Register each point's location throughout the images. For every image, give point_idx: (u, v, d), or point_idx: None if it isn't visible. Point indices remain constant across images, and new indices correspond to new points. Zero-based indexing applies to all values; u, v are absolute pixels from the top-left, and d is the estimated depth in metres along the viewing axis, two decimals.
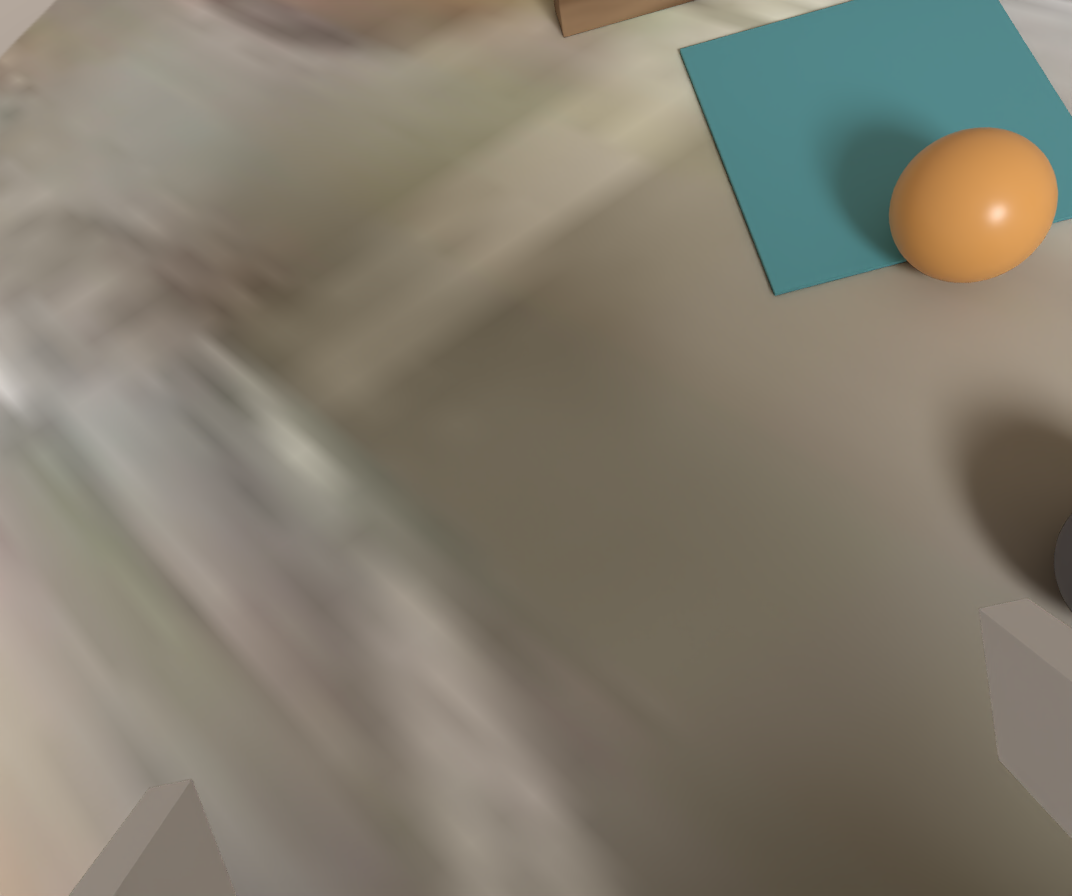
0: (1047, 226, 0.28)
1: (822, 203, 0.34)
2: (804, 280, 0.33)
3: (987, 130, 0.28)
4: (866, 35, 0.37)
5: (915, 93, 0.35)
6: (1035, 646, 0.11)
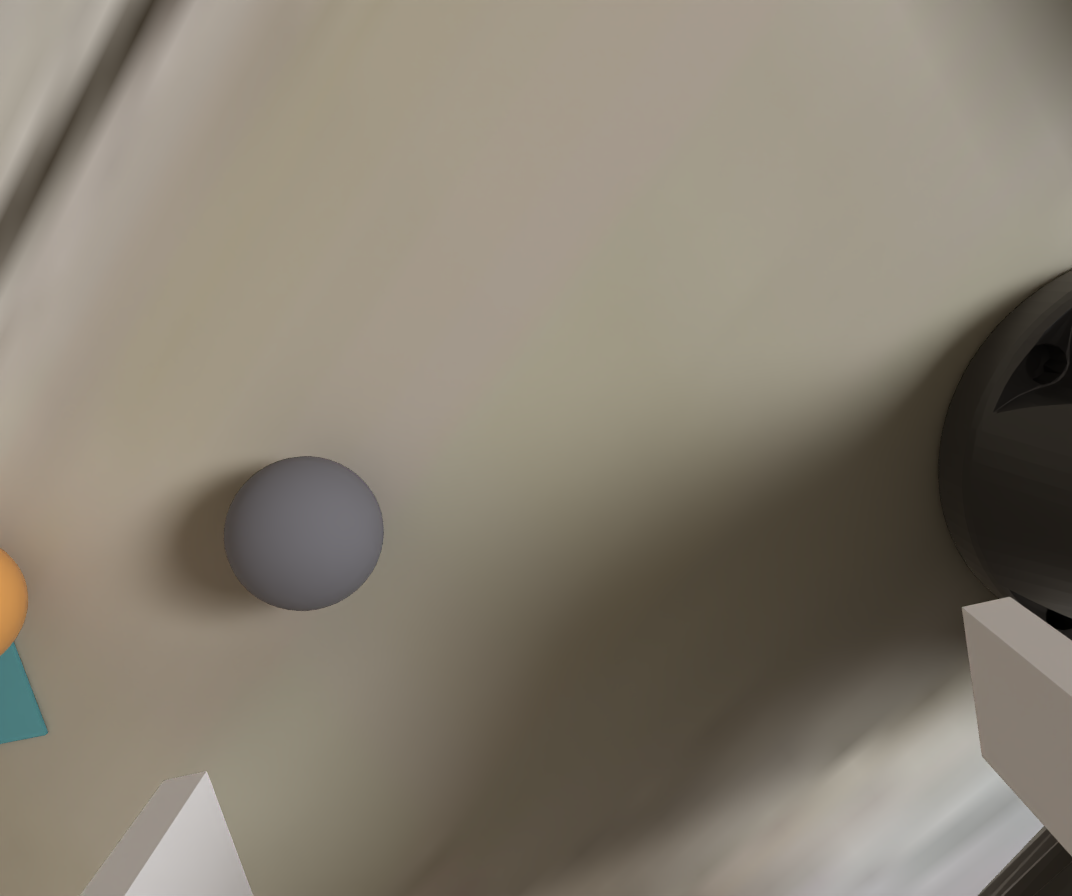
0: None
1: None
2: (30, 709, 0.34)
3: None
4: None
5: None
6: (1015, 643, 0.11)
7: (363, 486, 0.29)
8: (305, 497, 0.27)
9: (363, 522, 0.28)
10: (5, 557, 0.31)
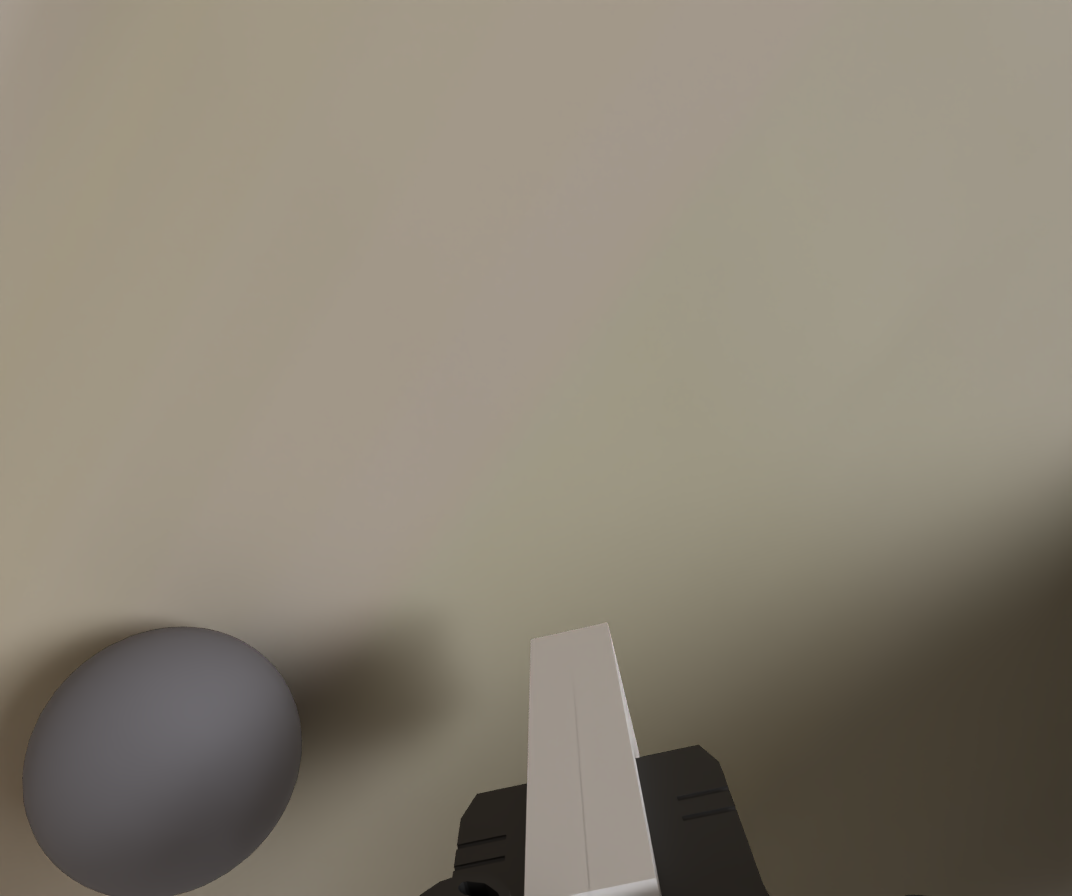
0: None
1: None
2: None
3: None
4: None
5: None
6: (576, 663, 0.14)
7: (260, 680, 0.17)
8: (147, 726, 0.15)
9: (256, 752, 0.16)
10: None
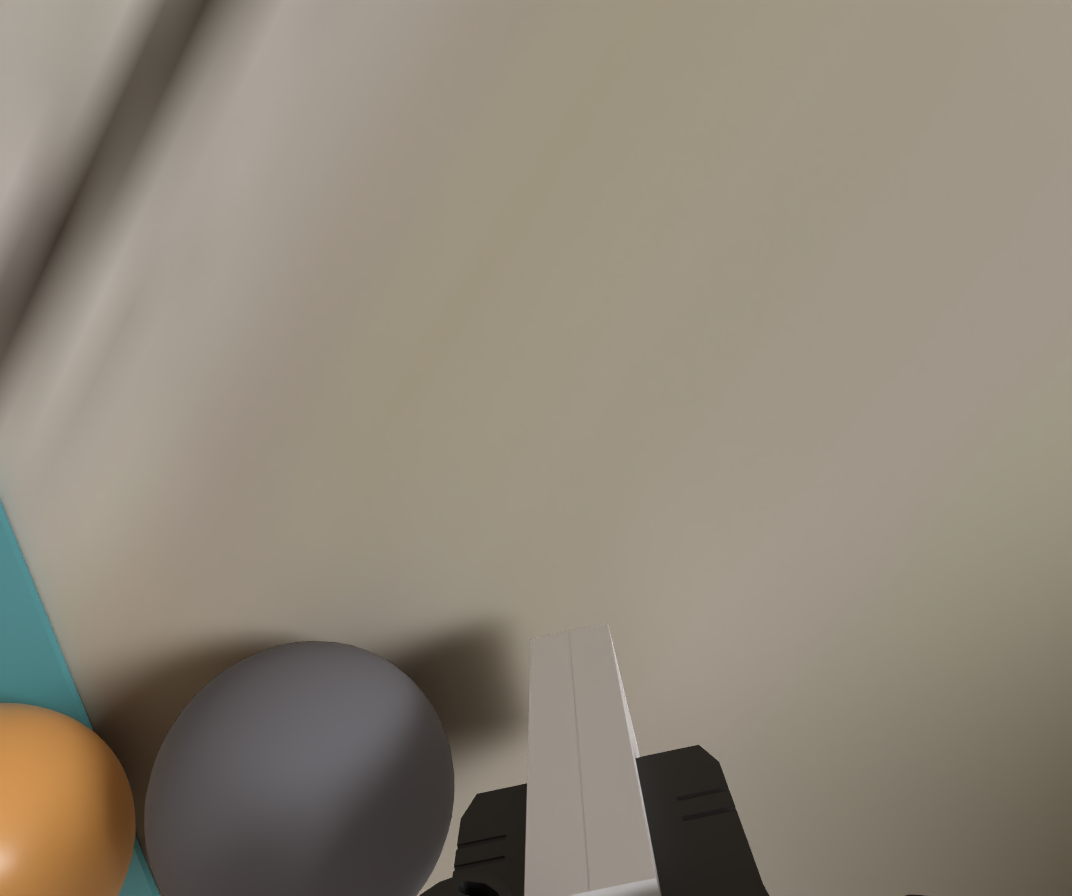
0: None
1: None
2: None
3: None
4: None
5: None
6: (576, 663, 0.14)
7: (145, 818, 0.14)
8: None
9: None
10: (77, 774, 0.15)
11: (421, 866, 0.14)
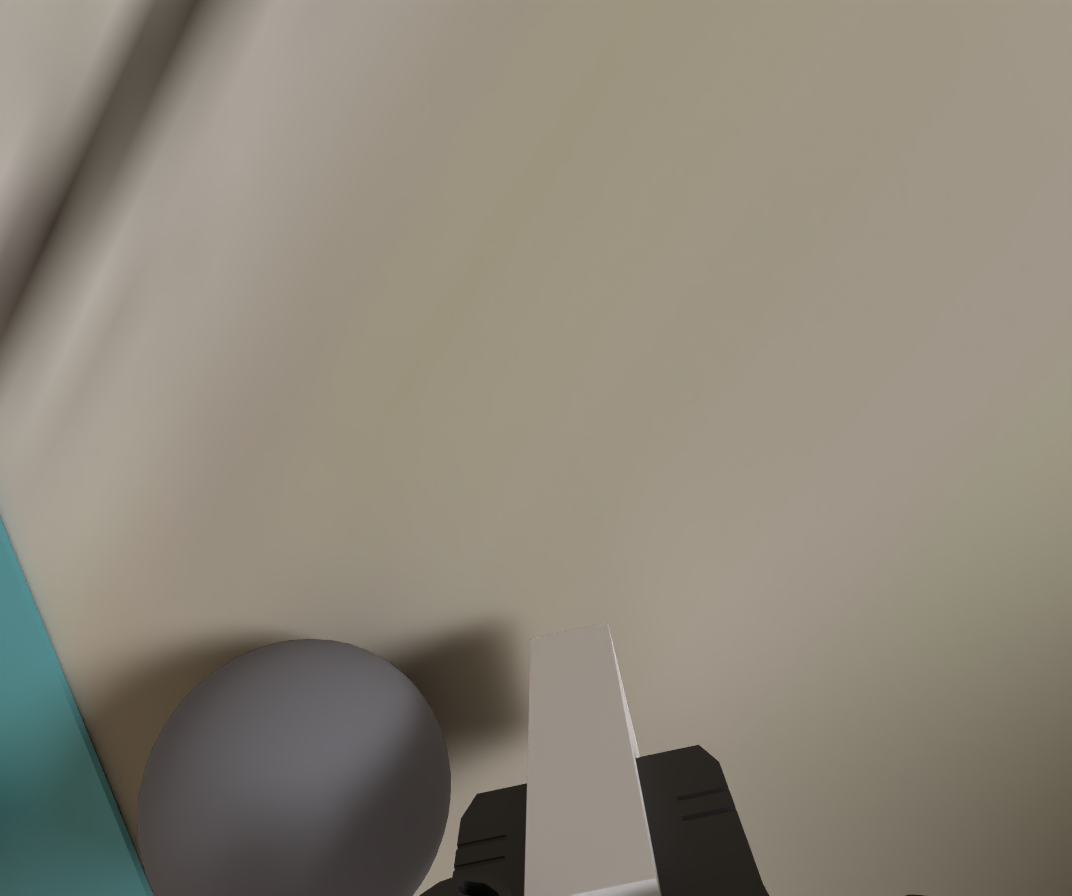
0: None
1: None
2: None
3: None
4: None
5: None
6: (576, 663, 0.14)
7: (138, 818, 0.14)
8: None
9: None
10: None
11: (417, 866, 0.14)
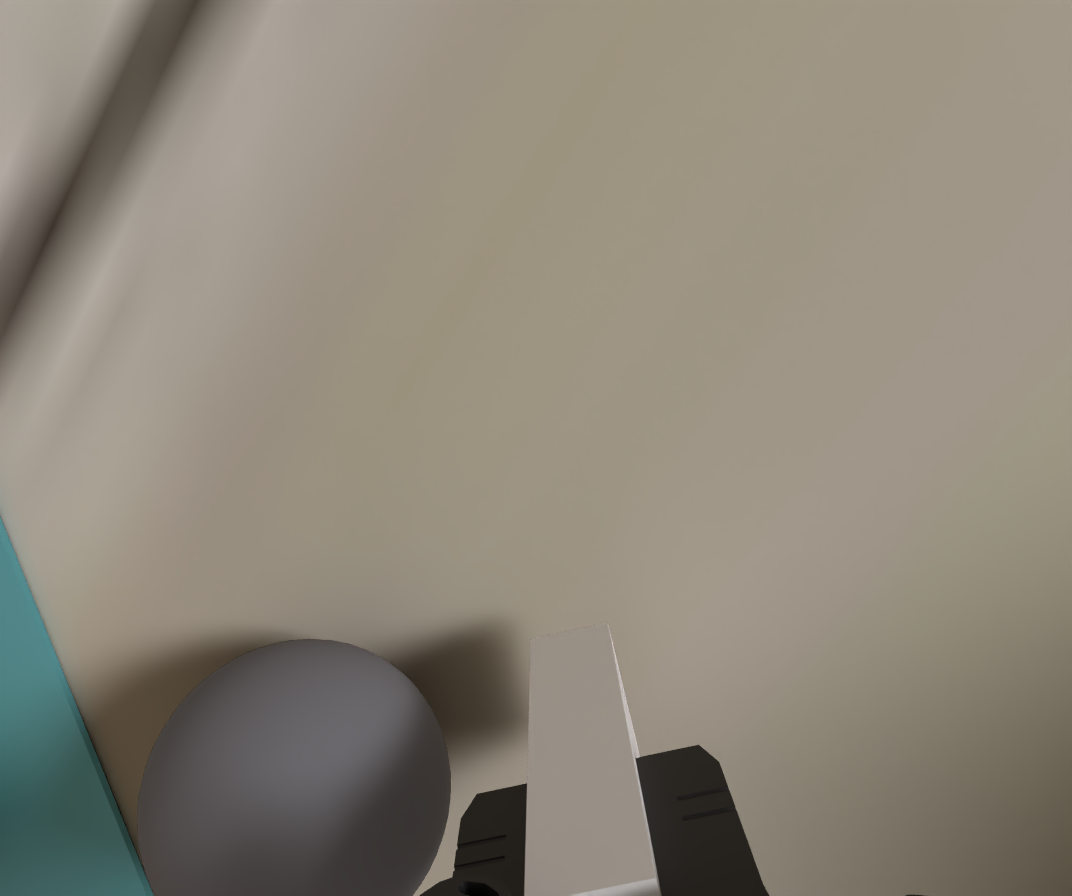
0: None
1: None
2: None
3: None
4: None
5: None
6: (576, 663, 0.14)
7: (138, 818, 0.14)
8: None
9: None
10: None
11: (417, 866, 0.14)
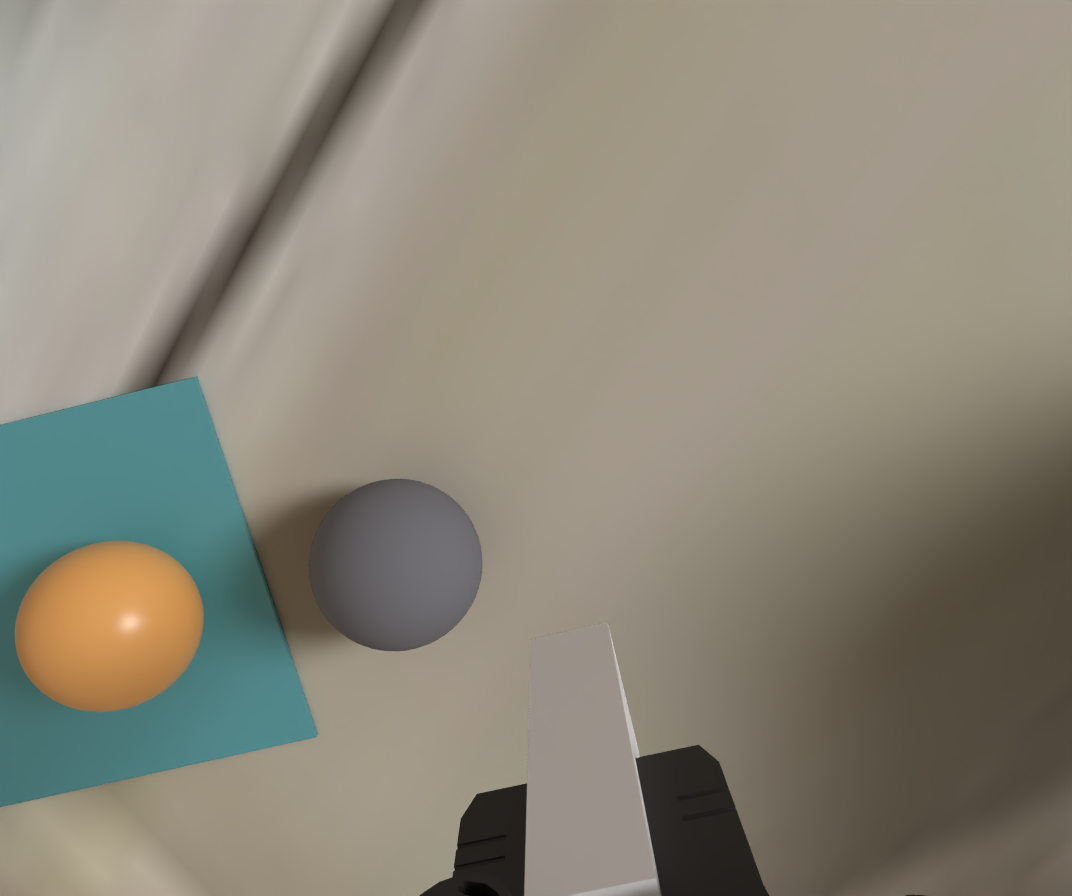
0: (37, 615, 0.24)
1: (197, 682, 0.30)
2: (301, 708, 0.30)
3: None
4: None
5: (34, 570, 0.29)
6: (576, 663, 0.14)
7: (313, 565, 0.25)
8: None
9: None
10: (98, 615, 0.24)
11: (466, 593, 0.25)
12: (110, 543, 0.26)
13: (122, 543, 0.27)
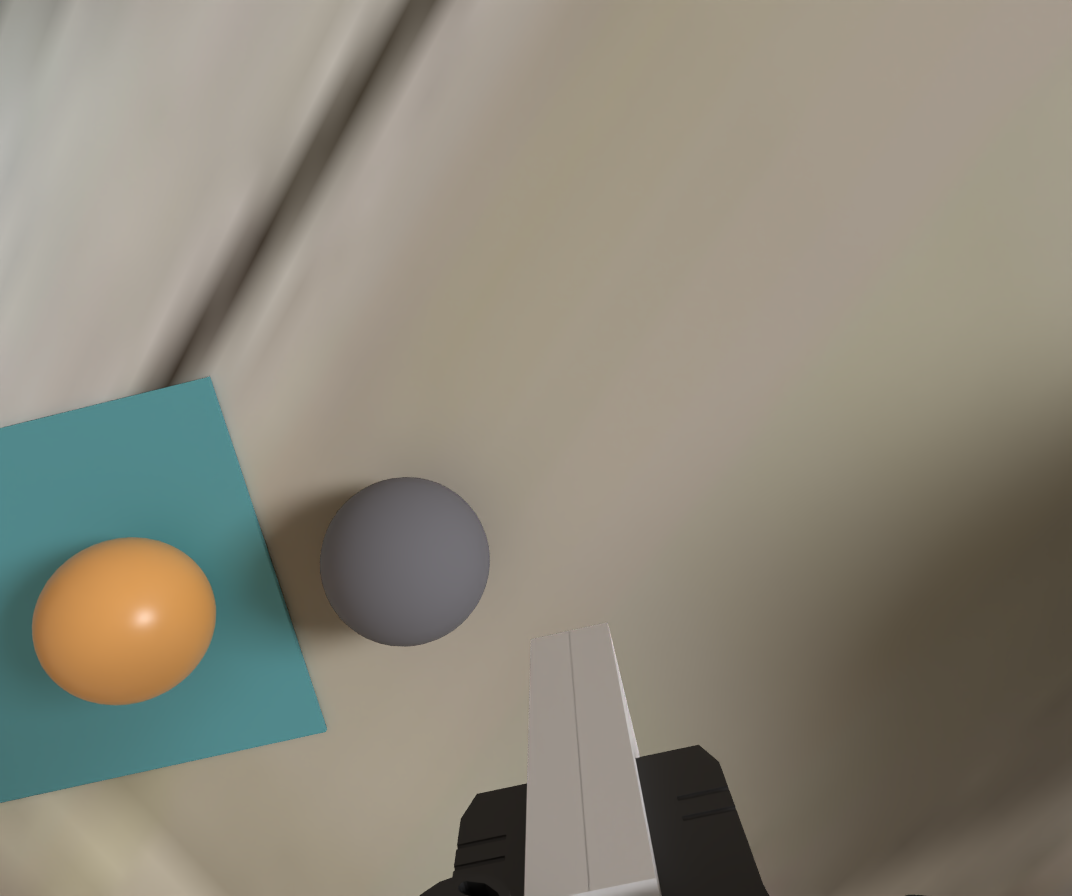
0: (54, 609, 0.25)
1: (209, 677, 0.31)
2: (310, 704, 0.31)
3: None
4: None
5: (50, 566, 0.30)
6: (576, 663, 0.14)
7: (324, 561, 0.25)
8: None
9: None
10: (113, 610, 0.25)
11: (473, 589, 0.26)
12: (125, 540, 0.27)
13: (136, 540, 0.27)
